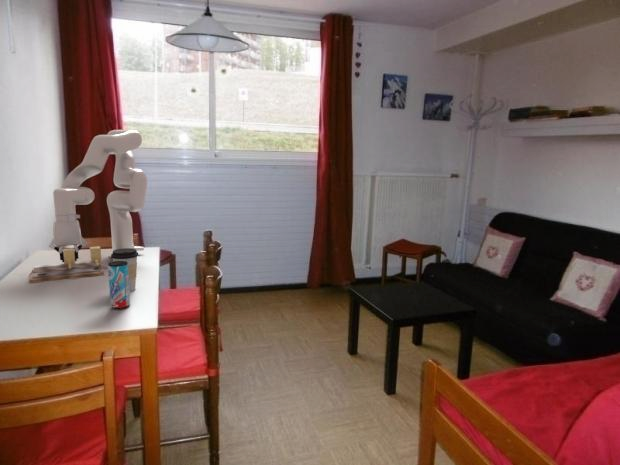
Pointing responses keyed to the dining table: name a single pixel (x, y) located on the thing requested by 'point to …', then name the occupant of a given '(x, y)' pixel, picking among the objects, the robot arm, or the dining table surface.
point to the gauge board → (65, 271)
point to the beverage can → (119, 284)
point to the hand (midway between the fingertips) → (69, 260)
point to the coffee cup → (131, 258)
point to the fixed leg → (95, 255)
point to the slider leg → (69, 257)
